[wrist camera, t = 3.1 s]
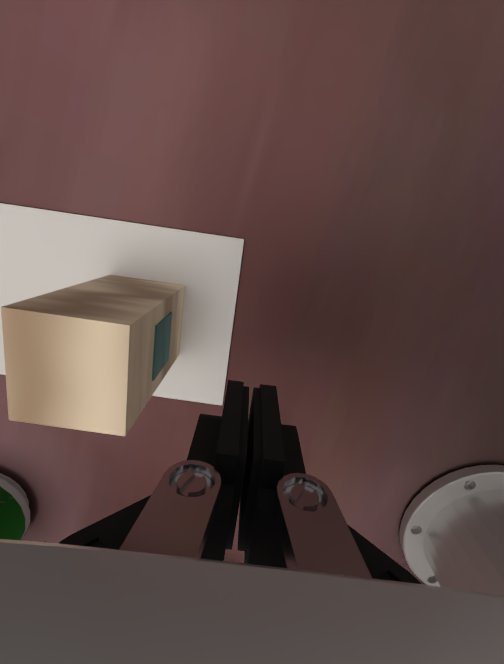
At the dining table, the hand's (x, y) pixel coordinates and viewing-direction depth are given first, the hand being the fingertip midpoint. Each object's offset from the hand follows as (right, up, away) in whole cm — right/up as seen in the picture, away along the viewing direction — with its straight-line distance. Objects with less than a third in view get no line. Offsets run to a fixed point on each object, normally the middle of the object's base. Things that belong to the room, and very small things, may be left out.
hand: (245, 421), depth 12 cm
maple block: (-7, +4, +12) cm, 14 cm away
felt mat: (-11, +5, +12) cm, 17 cm away
